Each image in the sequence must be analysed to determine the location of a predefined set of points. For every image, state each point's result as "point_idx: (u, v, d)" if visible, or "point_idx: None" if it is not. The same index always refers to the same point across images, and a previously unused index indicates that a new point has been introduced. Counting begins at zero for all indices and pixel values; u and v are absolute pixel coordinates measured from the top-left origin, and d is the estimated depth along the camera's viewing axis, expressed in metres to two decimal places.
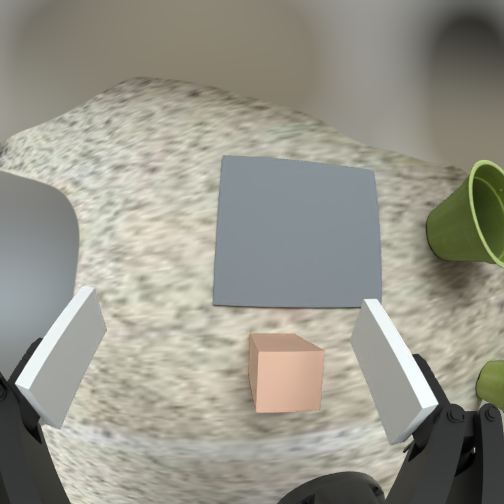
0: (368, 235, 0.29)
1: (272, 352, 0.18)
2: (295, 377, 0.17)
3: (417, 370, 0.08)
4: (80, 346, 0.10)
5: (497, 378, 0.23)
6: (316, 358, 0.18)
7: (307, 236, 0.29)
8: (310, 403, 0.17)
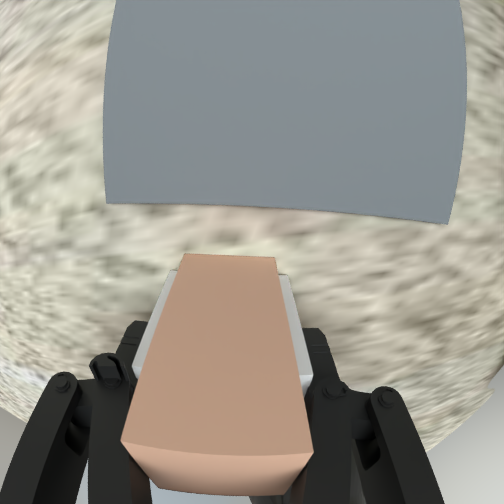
0: (447, 82, 0.09)
1: (157, 448, 0.05)
2: (228, 477, 0.06)
3: (303, 340, 0.10)
4: None
5: None
6: (287, 462, 0.05)
7: (317, 51, 0.09)
8: (265, 492, 0.07)
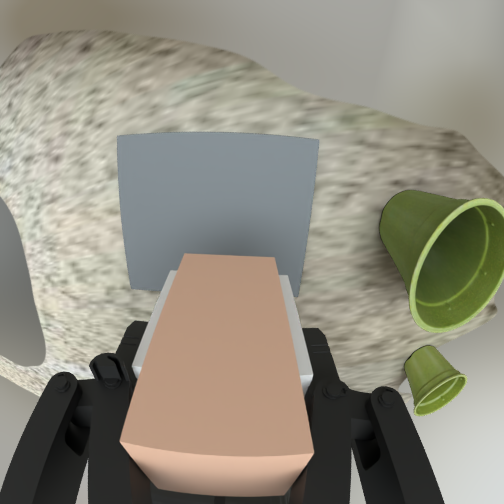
0: (292, 226, 0.26)
1: (156, 449, 0.05)
2: (228, 477, 0.06)
3: (303, 340, 0.10)
4: None
5: (420, 374, 0.32)
6: (287, 462, 0.05)
7: (215, 228, 0.26)
8: (265, 493, 0.07)
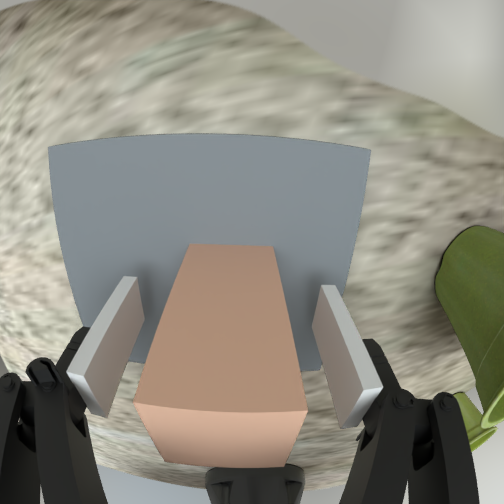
0: None
1: (166, 408, 0.06)
2: (231, 441, 0.07)
3: (366, 352, 0.09)
4: (125, 333, 0.11)
5: None
6: (284, 421, 0.06)
7: None
8: (266, 462, 0.08)
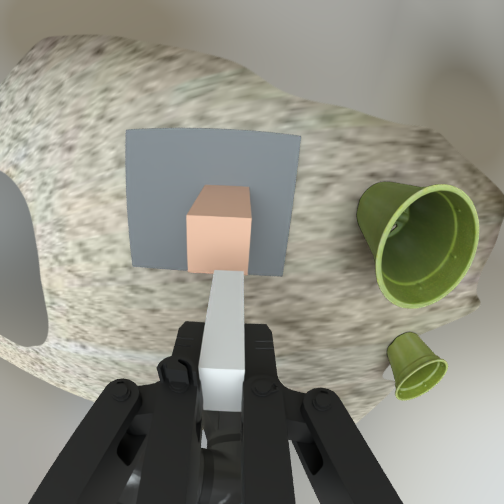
0: (277, 211, 0.29)
1: (199, 216, 0.19)
2: (222, 241, 0.20)
3: (243, 335, 0.10)
4: None
5: (401, 358, 0.35)
6: (243, 225, 0.19)
7: None
8: (238, 268, 0.21)
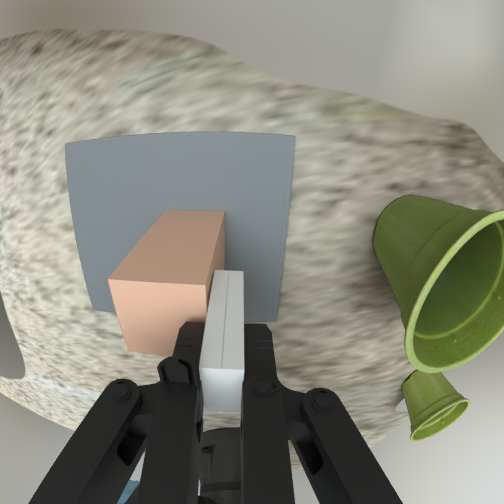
0: (265, 242, 0.22)
1: (125, 281, 0.11)
2: (165, 317, 0.12)
3: (243, 335, 0.10)
4: None
5: (418, 398, 0.27)
6: (193, 295, 0.12)
7: None
8: None
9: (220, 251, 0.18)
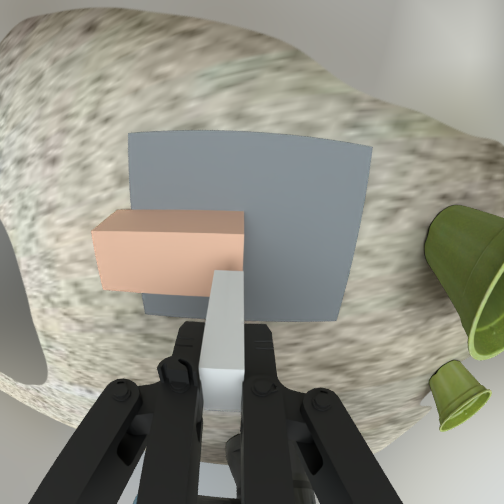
0: (338, 245, 0.22)
1: (112, 214, 0.19)
2: None
3: (243, 335, 0.10)
4: None
5: (447, 390, 0.28)
6: None
7: (248, 247, 0.22)
8: None
9: (187, 257, 0.17)
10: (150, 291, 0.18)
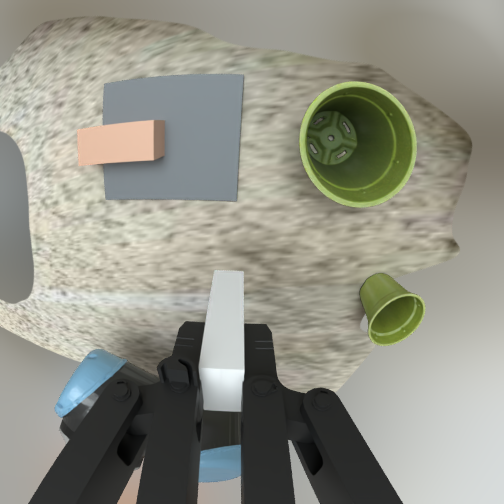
0: (226, 138, 0.32)
1: None
2: None
3: (243, 335, 0.10)
4: None
5: (372, 296, 0.37)
6: None
7: (168, 143, 0.31)
8: None
9: (124, 136, 0.27)
10: (104, 161, 0.28)
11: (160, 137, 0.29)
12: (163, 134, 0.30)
